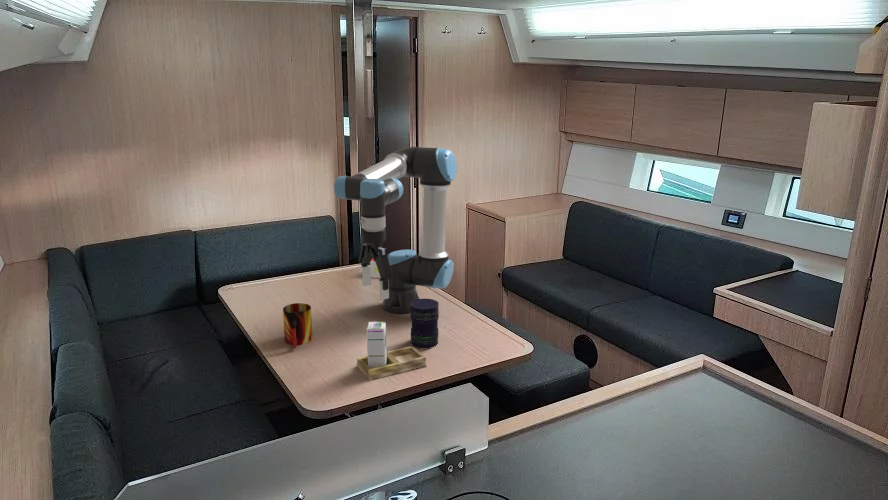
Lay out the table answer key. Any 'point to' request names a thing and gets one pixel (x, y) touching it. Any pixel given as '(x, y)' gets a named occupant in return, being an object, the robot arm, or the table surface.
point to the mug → (297, 324)
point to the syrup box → (376, 344)
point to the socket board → (394, 363)
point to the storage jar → (424, 323)
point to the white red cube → (374, 269)
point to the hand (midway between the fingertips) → (375, 291)
